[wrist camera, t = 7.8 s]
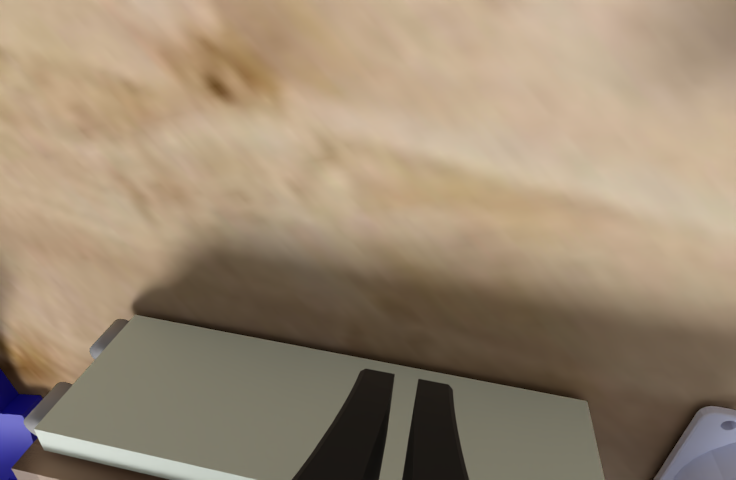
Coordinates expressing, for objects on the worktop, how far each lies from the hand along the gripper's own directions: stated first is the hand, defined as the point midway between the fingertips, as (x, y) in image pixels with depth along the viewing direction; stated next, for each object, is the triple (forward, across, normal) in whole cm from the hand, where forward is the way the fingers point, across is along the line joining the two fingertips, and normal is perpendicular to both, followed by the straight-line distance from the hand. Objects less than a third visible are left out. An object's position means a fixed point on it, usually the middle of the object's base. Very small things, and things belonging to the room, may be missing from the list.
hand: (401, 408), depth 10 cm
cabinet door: (+8, +3, +7) cm, 11 cm away
